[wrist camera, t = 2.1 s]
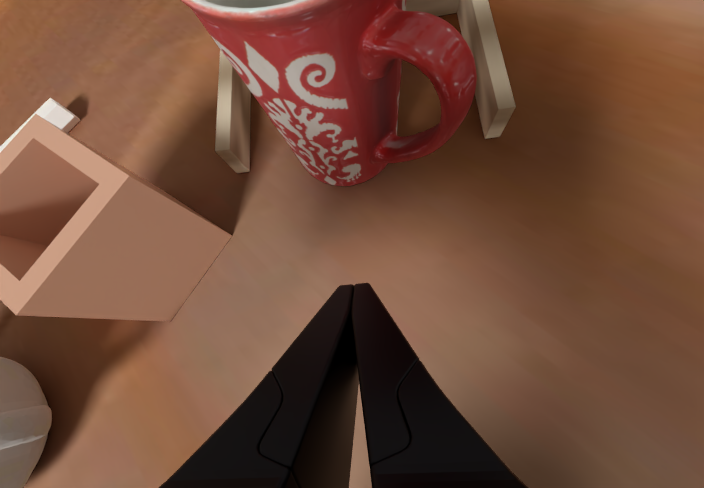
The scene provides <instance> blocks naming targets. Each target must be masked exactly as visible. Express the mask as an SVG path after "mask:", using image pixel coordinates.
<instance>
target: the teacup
mask: <svg viewBox="0 0 704 488" xmlns="http://www.w3.org/2000/svg"><path fill="white" fill-rule="evenodd" d="M51 422H52V413H51V408H49V407H48V404H47V401H46V398H45V396H44V394H43V392H42V389H41V387H40V385H39V383H38V381H37V380H36V378H35V377H34V375H33V374H32V373H31V372H30V371H29V370H28V369H26V368H25V367H24V366H22V365H21V364H19V363H17V362H15V361H13V360H10V359H7V358H4V357H0V488H24V486H25V484H26V482H27V481H28V479H29V477H30V475H31V473H32V471H33V469H34V468H35V466H36V464H37V462H38V460H39V458H40V456H41V454H42V452H43V449H44V446H45V443H46V440H47V435H48V431H49V429H50V427H51Z"/></svg>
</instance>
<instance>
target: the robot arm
mask: <svg viewBox="0 0 704 488" xmlns="http://www.w3.org/2000/svg"><path fill="white" fill-rule="evenodd" d="M359 384H360V392H361V400H362V408H363V416H364V424H365V432H366V440H367V449H368V457H369V465H370V473H371V482H372V488H528V487H527V486H526V485H525V484H524V483H523V482H522V481H521V480H520V479H519V478H518V477H517V476H516V475H515V474H514V473H513V472H512V471H511V470H510V469H509V468H508V467H507V466H506V465H505V464H504V463H503V462H502V460H501V459H500V458H499V457H498V456H497V455H496V454H495V452H494V451H493V450H492V449H491V448H490V447H489V446H488V444H487V443H486V442H485V441H484V440H483V439H482V438H481V436H480V435H479V434H478V433H477V432H476V431H475V430H474V428H473V427H472V426H471V425H470V424H469V423H468V422H467V420H466V419H465V418H464V417H463V416H462V415H461V414H460V412H459V411H458V410H457V409H456V408H455V406H454V405H453V404H452V403H451V402H450V400H449V399H448V398H447V397H446V396H445V394H444V393H443V392H442V391H441V389H440V388H439V387H438V385H437V384H436V382H435V381H434V380H433V378H432V377H431V375H430V374H429V373H428V371H427V370H426V368H425V367H424V365H423V364H422V362H421V361H419V358H418V356H417V355H416V353H415V352H414V350H413V349H412V347H411V346H410V344H409V343H408V341H407V340H406V338H405V337H404V335H403V334H402V332H401V331H400V329H399V328H398V326H397V325H396V323H395V322H394V320H393V319H392V317H391V316H390V314H389V313H388V311H387V310H386V308H385V307H384V305H383V303H382V302H381V300H380V299H379V297H378V296H377V294H376V293H375V291H374V290H373V288H372V287H371V285H370V284H369V283H361V284H356V285H355V286H354V285H352V284H350V285H341V286H339V287H338V288H337V289H336V290H335V292H334V293H333V294H332V295H331V297H330V298H329V299H328V300H327V301H326V303H325V304H324V305H323V306H322V308H321V309H320V310H319V311H318V312H317V314H316V315H315V316H314V317H313V319H312V320H311V321H310V322H309V324H308V325H307V326H306V327H305V328H304V330H303V331H302V332H301V333H300V335H299V336H298V337H297V338H296V339H295V341H294V342H293V343H292V344H291V346H290V347H289V348H288V349H287V351H286V352H285V353H284V354H283V355H282V357H281V358H280V359H279V360H278V362H277V363H276V364H275V365H274V366H273V368H272V371H269V372H268V374H267V375H266V376H265V377H264V379H263V380H262V381H261V382H260V383H259V385H258V386H257V387H256V388H255V389H254V390H253V392H252V393H251V394H250V395H249V396H248V397H247V399H246V400H245V401H244V402H243V403H242V404H241V405H240V406H239V407H238V408H237V409H236V410H235V411H234V413H233V414H232V415H231V416H230V417H229V418H228V419H227V420H226V421H225V422H224V423H223V424H222V425H221V426H220V427H219V428H218V429H217V430H216V431H215V432H214V433H213V434H212V435H211V436H210V437H209V438H208V439H207V441H206V442H205V443H204V444H203V445H202V446H201V447H200V448H199V449H198V450H197V451H196V452H195V453H194V454H193V455H192V456H191V457H190V458H189V459H188V460H187V461H186V462H185V463H184V464H183V465H182V466H181V467H180V468H179V469H178V470H177V471H176V472H175V473H174V474H173V475H172V476H171V477H170V478H169V479H168V480H167V481H166V482H164V483H163V484H162V485H161V486H160V487H159V488H349V479H350V468H351V458H352V447H353V437H354V426H355V416H356V406H357V395H358V385H359Z"/></svg>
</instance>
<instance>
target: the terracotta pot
mask: <svg viewBox="0 0 704 488" xmlns="http://www.w3.org/2000/svg"><path fill="white" fill-rule="evenodd" d="M231 237H232V235H230V234H229V233H227V232H226V231H224V230H223V229H221V228H220V227H218V226H217V225H215V224H214V223H212V222H210V221H209V220H207V219H206V218H204V217H203V216H201V215H200V214H198V213H197V212H195V211H194V210H192V209H191V208H189V207H188V206H186V205H184V204H183V203H181V202H180V201H178V200H177V199H175V198H174V197H172V196H171V195H169V194H168V193H166V192H165V191H163V190H161V189H160V188H158V187H156V186H155V185H153V184H151V183H150V182H148V181H146V180H145V179H143V178H141V177H140V176H138V175H136V174H135V173H133V172H131V171H130V170H128V169H127V168H125V167H123V166H122V165H120V164H118V163H117V162H115V161H113V160H112V159H110V158H108V157H107V156H105V155H103V154H102V153H100V152H98V151H97V150H95V149H93V148H92V147H90V146H88V145H87V144H85V143H83V142H82V141H80V140H78V139H77V138H75V137H73V136H72V135H70V134H68V133H67V132H65V131H63V130H62V129H60V128H59V127H57V126H55V125H54V124H52V123H50V122H49V121H47V120H45V119H44V118H42V117H40V116H39V115H37V114H35V115H34V116H33V117H32V118H31V119H30V120H29V121H28V123H27V124H26V125H25V126H24V127H23V128H22V129H21V130H20V131H19V133H18V134H17V135H16V136H15V137H14V138H13V139H12V140H11V141H10V143H9V144H8V145H7V146H6V147H5V148H4V149H3V150H2V151H1V152H0V300H1V301H2V302H3V303H4V304H5V305H6V306H7V307H8V308H9V309H10V310H11V311H12V312H13V313H14V314H15V315H18V316H43V317H68V318H93V319H119V320H144V321H169V322H171V320H172V319H173V317H174V316H175V315H176V313H177V312H178V310H179V309H180V308H181V306H182V305H183V303H184V302H185V301H186V299H187V298H188V297H189V295H190V294H191V292H192V291H193V290H194V288H195V287H196V285H197V284H198V283H199V281H200V280H201V278H202V277H203V276H204V274H205V273H206V271H207V270H208V269H209V267H210V266H211V265H212V263H213V262H214V260H215V259H216V258H217V256H218V255H219V253H220V252H221V251H222V249H223V248H224V246H225V245H226V244H227V242H228V241H229V239H230V238H231Z"/></svg>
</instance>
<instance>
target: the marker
mask: <svg viewBox="0 0 704 488" xmlns="http://www.w3.org/2000/svg"><path fill="white" fill-rule="evenodd" d="M35 114H37V115H39V116H40V117H42V118H44V119H45V120H47V121H49V122H50V123H52V124H54V125H55V126H57V127H59V128H60V129H62V130H63V131H65V132H67V133H68V132H69V131H70V130H71V129H72V128H73V127H74V126H75V125H76V124H77V123H78V122H79V121H80V119H79V118H78V117H77V116H76V115H74V114H73V113H72V112H71V111H69V110H68V109H67V108H65V107H64V106H62V105H61V104H60V103H58V102H56V101H55V100H53V99H51V98H49V99H48V100H47V101H46V102H45V103H44V104H43V105H42V106H41V107H40V108H39V109H38V110H37V111H36V112H35V113H34V114H33V115H32V116H31V117H30V118H29V119H28V120H27V121H26V122H25V123H24V124H23V125H22V126H21V127H20V128H19V129H18V130H17V131H16V132H15V133H14V134H13V135H12V136H11V137H9V138H8V139H7V140H6V141H5V142H4V143H3V144H2V145H1V146H0V152H1V151H2V150H3V149H4V148H5V147H6V146H7V145H8V144H9V143H10V141H11V140H12V139H13V138H14V137H15V136H16V135H17V134H18V133H19V131H20V130H21V129H22V128H23V127H24V126H25V125H26V124H27V123H28V121H29V120H30V119H31V118H32V117H33V116H34V115H35Z"/></svg>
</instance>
